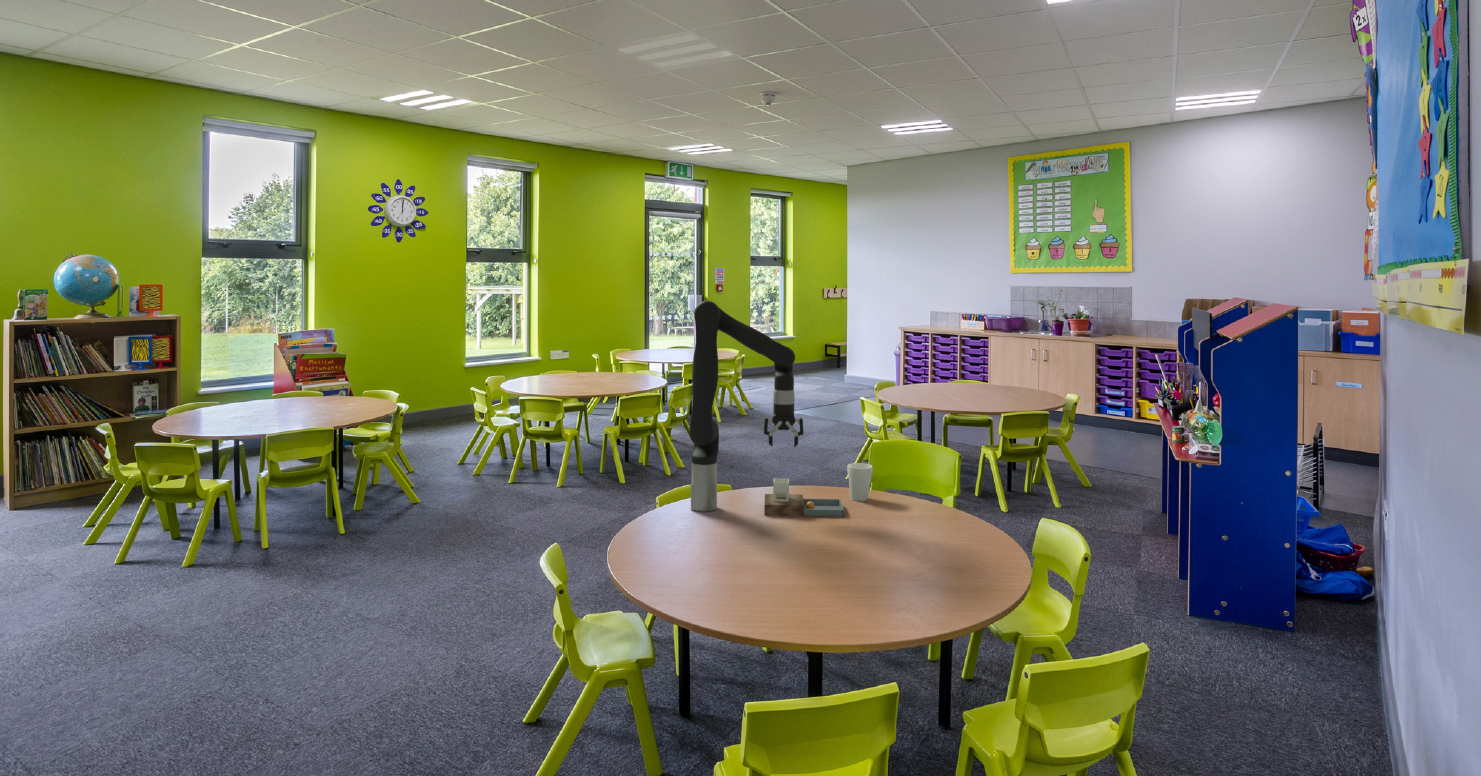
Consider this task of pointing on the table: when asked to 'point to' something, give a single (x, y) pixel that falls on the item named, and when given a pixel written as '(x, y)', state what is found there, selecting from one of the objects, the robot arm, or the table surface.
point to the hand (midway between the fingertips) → (783, 446)
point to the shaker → (781, 490)
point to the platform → (784, 506)
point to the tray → (824, 508)
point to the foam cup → (859, 480)
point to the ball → (810, 505)
